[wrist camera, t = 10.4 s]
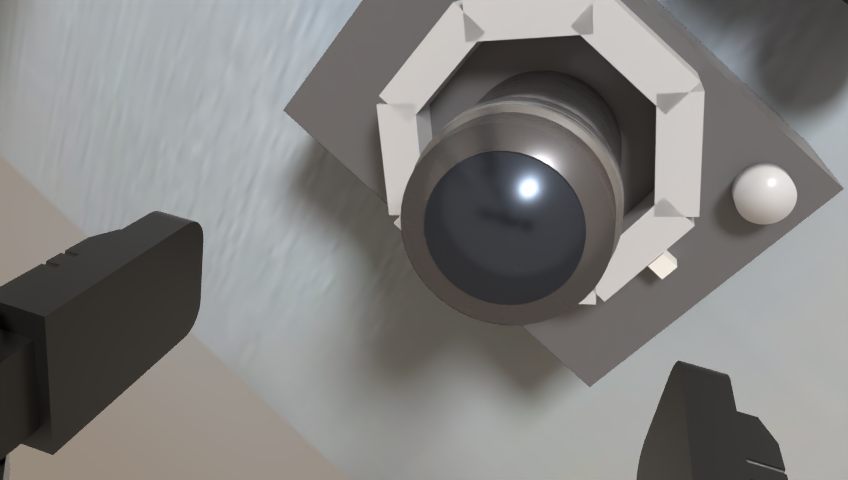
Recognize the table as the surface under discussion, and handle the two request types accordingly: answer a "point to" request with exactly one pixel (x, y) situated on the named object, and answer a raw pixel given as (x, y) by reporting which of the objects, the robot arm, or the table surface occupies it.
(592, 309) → the camera body
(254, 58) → the table surface
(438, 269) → the lens
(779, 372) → the table surface
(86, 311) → the robot arm
